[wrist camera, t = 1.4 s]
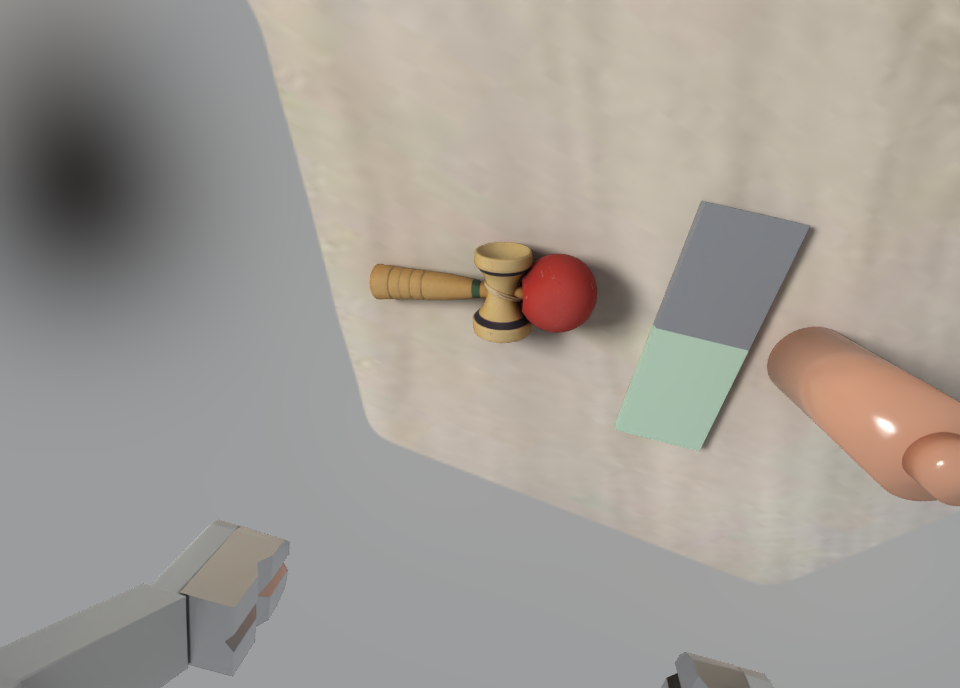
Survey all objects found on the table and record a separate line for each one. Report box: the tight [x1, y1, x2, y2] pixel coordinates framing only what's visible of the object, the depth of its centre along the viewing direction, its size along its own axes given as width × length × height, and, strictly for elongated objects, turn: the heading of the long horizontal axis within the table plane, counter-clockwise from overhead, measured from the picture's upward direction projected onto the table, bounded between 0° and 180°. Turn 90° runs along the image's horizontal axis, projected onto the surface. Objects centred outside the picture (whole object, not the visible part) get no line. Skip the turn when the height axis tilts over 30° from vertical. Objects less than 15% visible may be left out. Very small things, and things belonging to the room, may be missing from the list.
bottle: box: [767, 327, 960, 506], centre depth 29 cm, size 6×6×15 cm
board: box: [615, 201, 810, 451], centre depth 36 cm, size 20×8×1 cm, turn 168°
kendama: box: [370, 242, 597, 343], centre depth 36 cm, size 8×6×18 cm
